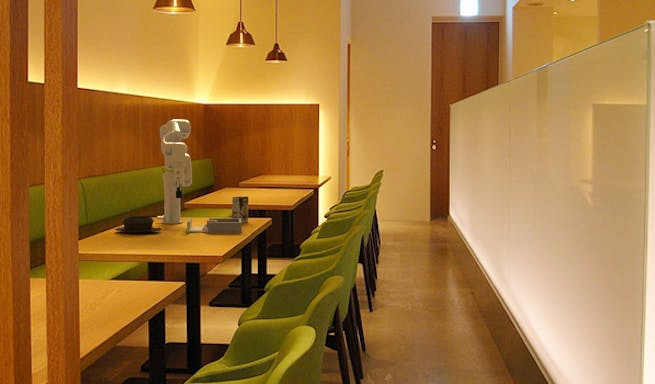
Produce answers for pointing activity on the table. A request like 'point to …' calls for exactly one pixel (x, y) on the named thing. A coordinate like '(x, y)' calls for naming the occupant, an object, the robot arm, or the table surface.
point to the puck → (211, 221)
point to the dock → (225, 225)
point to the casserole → (138, 225)
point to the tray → (195, 229)
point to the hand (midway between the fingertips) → (178, 197)
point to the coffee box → (240, 208)
